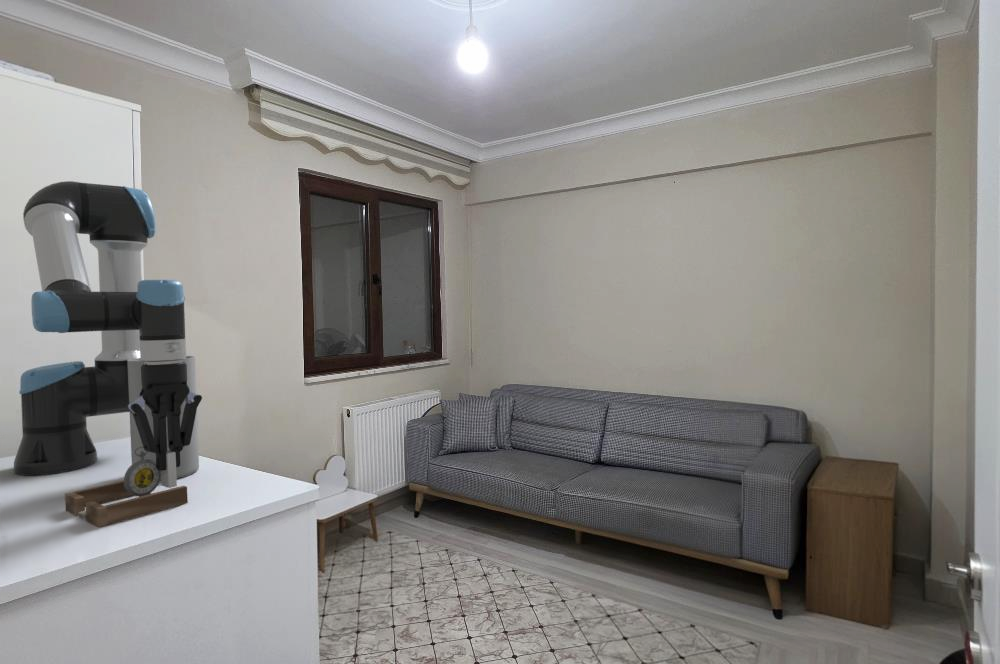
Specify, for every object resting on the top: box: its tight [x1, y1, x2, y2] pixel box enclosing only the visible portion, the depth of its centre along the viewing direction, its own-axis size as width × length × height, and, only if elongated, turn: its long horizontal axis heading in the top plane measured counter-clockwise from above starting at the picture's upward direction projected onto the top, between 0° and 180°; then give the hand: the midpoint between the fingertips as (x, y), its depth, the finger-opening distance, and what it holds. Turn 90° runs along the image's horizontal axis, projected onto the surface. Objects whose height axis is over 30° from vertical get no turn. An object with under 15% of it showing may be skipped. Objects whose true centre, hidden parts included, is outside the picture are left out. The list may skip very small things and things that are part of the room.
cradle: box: [64, 474, 189, 528], centre depth 105 cm, size 14×14×3 cm
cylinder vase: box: [127, 355, 200, 482], centre depth 126 cm, size 12×12×25 cm
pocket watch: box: [123, 447, 161, 497], centre depth 108 cm, size 8×8×10 cm
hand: (169, 485), depth 111 cm, fingers closed
